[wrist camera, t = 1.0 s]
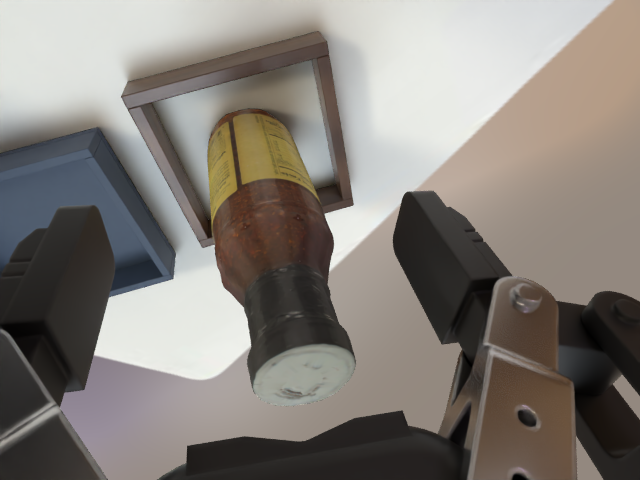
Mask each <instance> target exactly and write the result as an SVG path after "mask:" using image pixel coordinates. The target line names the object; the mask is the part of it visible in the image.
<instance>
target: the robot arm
mask: <svg viewBox="0 0 640 480" xmlns="http://www.w3.org/2000/svg"><path fill="white" fill-rule="evenodd" d="M393 247H394V252H395V255H396V257H397V259H398V261H399V263H400V265H401V267H402V268H403V270H404V272H405V274H406V276H407V278H408V280H409V282H410V284H411V286H412V288H413V290H414V292H415V293H416V296H417V298H418V299H419V301H420V303H421V305H422V307H423V309H424V311H425V313H426V315H427V317H428V319H429V321H430V322H431V324H432V326H433V328H434V330H435V332H436V334H437V336H438V338H439V340H440V342H441V344H450V343H457V342H459V344H460V346H461V348H462V351H461V352H460V354H459V357H458V361H457V365H456V369H455V374H454V378H453V382H452V386H451V390H450V394H449V398H448V403H447V407H446V411H445V415H444V418H443V421H442V424H441V426H440V429H439V431H438V434H436V433H433V432H430V431H428V430H425V429H421V428H416V427H412V426H408V424H407V421H406V419H405V416H404V414H403V411H396V412H390V413H384V414H378V415H372V416H366V417H360V418H354V419H352V420H349V421H347V422H345V423H343V424H341V425H339V426H337V427H335V428H332V429H330V430H328V431H326V432H324V433H322V434H320V435H318V436H315V437H313V438H311V439H309V440H306V441H302V442H297V441H296V442H295V441H286V440H276V439H265V438H255V437H239V438H233V439H226V440H220V441H214V442H208V443H202V444H196V445H190V446H187V463H185V464H183V465H181V466H179V467H177V468H175V469H173V470H172V471H170V472H168V473H166V474H165V475H163V476H162V477H160V478H159V479H158V480H577V456H576V436H577V438H578V439H579V441H580V442H581V444H582V446H583V447H584V449H585V450H586V452H587V454H588V455H589V457H590V458H591V460H592V462H593V463H594V465H595V466H596V468H597V470H598V471H599V473H600V474H601V476H602V478H603V479H604V480H640V420H639V418H638V417H637V416H636V414H635V413H634V412H633V410H632V409H631V408H630V407H629V405H628V404H627V403H626V401H625V400H624V399H623V398H622V396H621V395H620V394H619V392H618V391H617V390H616V388H615V387H614V386H613V383H614V382H615V381H616V380H617V379H618V378H619V377H620V376H621V375H622V374H623V376H624V377H625V378H626V379H627V381H628V382H629V383H630V384H631V386H632V387H633V388H634V389H635V391H636V392H637V393H638V394H639V396H640V302H639V301H637V300H635V299H634V298H632V297H629V296H627V295H624V294H621V293H617V292H612V291H603V292H599V293H597V294H595V295H594V297H593V298H592V299H591V301H590V302H589V304H588V305H587V306H585V305H578V304H573V303H566V302H560V301H556V300H555V298H554V297H553V296H552V294H551V293H549V291H548V290H546V289H545V288H544V287H542V286H540V285H539V284H538V283H536V282H534V281H531V280H529V279H526V278H522V277H516V276H512V274H511V273H510V272H509V271H508V270H507V268H506V267H505V266H504V265H503V263H502V262H501V261H500V260H499V258H498V257H497V256H496V255H495V253H494V252H493V251H492V250H491V248H490V247H489V246H488V245H487V243H486V242H483V238H482V237H481V236H480V235H479V234H478V232H475V228H474V227H473V226H472V225H471V223H470V222H469V221H468V220H467V218H466V217H464V216H463V215H462V214H460V213H459V212H457V211H456V210H454V209H452V208H451V207H446V206H445V204H444V203H443V202H442V200H441V199H440V198H439V197H438V195H437V194H436V193H435V192H434V191H414V192H406V193H405V194H404V196H403V199H402V203H401V207H400V211H399V215H398V219H397V223H396V227H395V231H394V235H393ZM114 274H115V260H114V254H113V251H112V248H111V245H110V241H109V238H108V235H107V232H106V229H105V226H104V223H103V220H102V217H101V214H100V211H99V209H98V208H97V206H95V205H81V206H60V207H59V208H58V209H57V210H56V212H55V214H54V216H53V218H52V220H51V222H50V224H49V226H48V228H38V229H35V230H34V231H33V232H32V233H30V234H29V235H28V236H27V237H26V238H24V239H23V240H22V241H21V242H19V243H18V245H17V247H16V248H15V250H14V252H13V254H12V255H11V257H10V259H9V263H7V264H6V266H5V268H4V269H3V271H2V273H1V277H0V480H108V479H107V478H106V476H105V475H104V473H103V472H102V470H101V469H100V467H99V466H98V464H97V463H96V461H95V460H94V458H93V457H92V455H91V454H90V452H89V451H88V449H87V448H86V447H85V445H84V444H83V442H82V440H81V439H80V437H79V436H78V434H77V433H76V431H75V430H74V429H73V427H72V425H71V424H70V423H69V421H68V420H67V418H66V417H65V415H64V414H63V412H62V411H61V409H60V405H61V402H62V399H63V395H64V393H65V392H73V391H80V390H84V389H85V385H86V381H87V378H88V374H89V370H90V366H91V363H92V359H93V355H94V351H95V347H96V344H97V340H98V336H99V332H100V328H101V325H102V321H103V317H104V313H105V309H106V306H107V302H108V298H109V294H110V290H111V287H112V283H113V279H114Z"/></svg>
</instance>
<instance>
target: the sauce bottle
mask: <svg viewBox="0 0 640 480" xmlns="http://www.w3.org/2000/svg"><path fill="white" fill-rule="evenodd" d="M208 173H209V189H210V206H211V224H212V236H213V240H214V243H215V255H216V260H217V266H218V269H219V271H220V274H221V279H222V283H223V286H224V288H225V289H226V290H228V291H229V292H230V293H231V294H232V295H233V296H234V297H235V298H236V300H237V301H238V302H239V303H240V304H241V305H242V306H243V307H244V311H245V313H246V316H247V318H248V327H249V330H250V332H249V334H250V339H251V346H252V347H251V350H250V352H249V355H248V359H247V365H248V370H249V374H250V380H251V384H252V388H253V391H254V393H255V394H256V395H257V396H258V397H259V398H260V400H262V401H264V402H267V403H269V404H273V405H275V406H295V405H300V404H310V403H313V402H317V401H321V400H323V399H325V398H328V397H329V396H331V395H333V394H335V393H336V392H337V391H338V390H340V389H341V388H342V387H343V386H344V385H345V384H346V383H347V382H348V381H349V379H350V378H351V376H352V374H353V373H354V370H355V366H356V360H355V356H354V352H353V350H352V345H351V342H350V339H349V336H348V335H347V332H346V331H345V329H344V328H342V326H341V325H340V324H339V322H338V319H337V316H336V313H335V310H334V307H333V305H332V302H331V299H330V290H329V287H328V285H327V283H328V274H329V266H330V260H331V256H332V253H333V248H334V240H333V235H332V233H331V231H330V229H329V226H328V224H327V221H326V218H325V215H324V212H323V209H322V206H321V203H320V201H319V198H318V196H317V193H316V191H315V188H314V186H313V184H312V182H311V179H310V177H309V175H308V172H307V170H306V168H305V166H304V163H303V161H302V159H301V157H300V154H299V152H298V150H297V147H296V145H295V143H294V140H293V138H292V136H291V134H290V133H289V131H288V130H287V129H286V127H285V126H284V125H283V124H282V123H281V122H279V121H278V120H277V119H276V118H275V117H273V116H272V115H270V114H268V113H267V112H266V111H263V110H260V109H246V110H239V111H236V112H232V113H230V114H227V115H226V116H225V117H223V118H222V119H221V120H220V121H219V122H218V123H217V125H216V126H215V128H214V130H213V132H212V134H211V137H210V139H209V145H208Z"/></svg>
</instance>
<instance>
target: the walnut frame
mask: <svg viewBox="0 0 640 480" xmlns="http://www.w3.org/2000/svg"><path fill="white" fill-rule="evenodd" d="M311 59H312V63H313V69H314V74H315V79H316V84H317V89H318V94H319V100H320V105H321V110H322V115H323V120H324V125H325V130H326V136H327V141H328V146H329V151H330V156H331V161H332V167H333V172H334V177H335V182H336V184H335V185H331V186H328V187H324V188H321V189H317V190H315V191H316V193H317V196H318V198H319V201H320V203H321V206H322V209H323V212H324V214H325V213H328V212H332V211H335V210H339V209H342V208H346V207H350V206H353V198H352V191H351V185H350V179H349V173H348V167H347V161H346V155H345V149H344V143H343V136H342V130H341V124H340V118H339V112H338V106H337V100H336V94H335V88H334V82H333V75H332V69H331V63H330V57H329V51H328V45H327V41H326V40H325V39H324V37H323V36H322V35H321V34H320V32H319V31H317V32H313V33H309V34H306V35H302V36H298V37H294V38H291V39H287V40H283V41H279V42H276V43H272V44H268V45H264V46H261V47H257V48H253V49H250V50H246V51H242V52H238V53H235V54H231V55H227V56H223V57H220V58H216V59H212V60H208V61H205V62H201V63H197V64H193V65H190V66H186V67H182V68H179V69H175V70H171V71H167V72H164V73H160V74H156V75H152V76H149V77H145V78H141V79H137V80H134V81H130V82H127V85H126V87H125V89H124V91H123V93H122V96H121V98H122V100H123V101H124V103H125V105H126V107H127V109H128V111H129V113H130V114H131V116H132V118H133V120H134V122H135V124H136V126H137V127H138V129H139V131H140V133H141V135H142V137H143V139H144V140H145V142H146V144H147V146H148V148H149V150H150V152H151V153H152V155H153V157H154V159H155V161H156V163H157V165H158V166H159V168H160V170H161V172H162V174H163V176H164V178H165V179H166V181H167V183H168V185H169V187H170V189H171V191H172V192H173V194H174V196H175V198H176V200H177V202H178V204H179V205H180V207H181V209H182V211H183V213H184V215H185V217H186V219H187V220H188V222H189V224H190V226H191V228H192V230H193V232H194V233H195V235H196V237H197V239H198V241H199V242H200V244H201V246H202V247H203V248H204V247H207V246H211V245H214V244H215V243H214V240H213V236H212V224H211V219H210V220H208V218H207V216H206V214H205V212H204V210H203V208H202V206H201V204H200V202H199V199H198V197H197V195H196V193H195V191H194V189H193V187H192V185H191V183H190V181H189V179H188V177H187V175H186V173H185V171H184V169H183V167H182V165H181V163H180V161H179V159H178V157H177V155H176V153H175V151H174V149H173V147H172V145H171V142H170V140H169V138H168V136H167V134H166V132H165V130H164V128H163V126H162V124H161V122H160V120H159V118H158V116H157V114H156V112H155V110H154V108H153V106H152V104H151V103H152V102H155V101H159V100H163V99H167V98H170V97H174V96H178V95H181V94H185V93H189V92H192V91H196V90H200V89H204V88H207V87H211V86H215V85H218V84H222V83H226V82H230V81H233V80H237V79H241V78H244V77H248V76H252V75H256V74H259V73H263V72H267V71H270V70H274V69H278V68H282V67H285V66H289V65H293V64H296V63H300V62H304V61H308V60H311Z"/></svg>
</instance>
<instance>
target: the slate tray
mask: <svg viewBox="0 0 640 480" xmlns="http://www.w3.org/2000/svg"><path fill="white" fill-rule="evenodd" d="M81 205H95V206H97V208H98V209H99V211H100V214H101V217H102V220H103V223H104V226H105V229H106V232H107V235H108V238H109V241H110V245H111V248H112V251H113V254H114V260H115V274H114V279H113V283H112V287H111V290H110V294H109V297H111V296H115V295H118V294H122V293H125V292H129V291H133V290H136V289H140V288H143V287H147V286H150V285H154V284H157V283H161V282H164V281H168V280H171V279H173V277H174V267H175V257H176V254H175V252H174V250H173V249H172V247H171V245H170V244H169V242H168V241H167V239H166V237H165V236H164V234H163V232H162V231H161V229H160V227H159V226H158V224H157V222H156V221H155V219H154V218H153V216H152V214H151V213H150V211H149V209H148V208H147V206H146V204H145V203H144V201H143V200H142V198H141V196H140V195H139V193H138V191H137V190H136V188H135V186H134V185H133V183H132V181H131V180H130V178H129V177H128V175H127V173H126V172H125V170H124V168H123V167H122V165H121V163H120V162H119V160H118V159H117V157H116V155H115V154H114V152H113V150H112V149H111V147H110V145H109V144H108V142H107V140H106V139H105V137H104V136H103V134H102V132H101V131H100V129H99V128H98V127H96V128H93V129H89V130H85V131H82V132H78V133H74V134H71V135H67V136H63V137H59V138H56V139H52V140H48V141H45V142H41V143H37V144H34V145H30V146H26V147H22V148H19V149H15V150H11V151H8V152H4V153H0V277H1V273H2V271H3V269H4V268H5V266H6V264H7V263H9V259H10V257H11V255H12V254H13V252H14V250H15V248H16V247H17V245H18V243H19V242H21V241H22V240H23V239H24V238H26V237H27V236H28V235H29V234H30V233H32V232H33V231H34V230H35V229H38V228H48V226H49V224H50V222H51V220H52V218H53V216H54V214H55V212H56V210H57V209H58V208H59V207H60V206H81Z"/></svg>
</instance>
